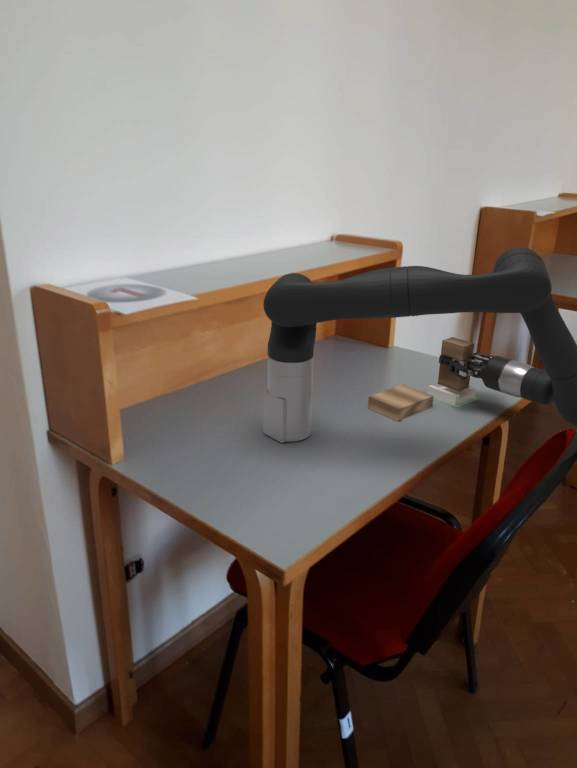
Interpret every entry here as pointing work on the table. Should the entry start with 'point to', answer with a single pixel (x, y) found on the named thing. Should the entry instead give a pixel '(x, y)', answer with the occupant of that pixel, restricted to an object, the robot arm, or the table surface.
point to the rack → (452, 394)
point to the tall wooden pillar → (459, 351)
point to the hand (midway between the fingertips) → (446, 356)
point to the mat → (460, 403)
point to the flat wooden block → (400, 402)
